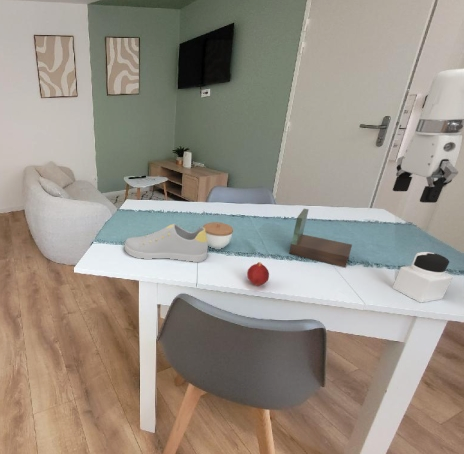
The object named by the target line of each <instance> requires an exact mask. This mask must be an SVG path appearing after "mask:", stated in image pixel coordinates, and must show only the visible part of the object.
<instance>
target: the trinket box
mask: <svg viewBox="0 0 464 454" xmlns="http://www.w3.org/2000/svg"><path fill="white" fill-rule="evenodd" d="M202 227H203V228H205V232H206V237H207V241H208V246H209V247H208V248H210V247H211V248H210V249H212V248H215V249H214V250H222V249H221V248H223V249H224V248H225V247H226V246H228V245H229V244H230V243H231V240H232V238H233V232H234V227H233V226H231V225H230V224H227V223H224V222H218V221H217V222H216V221H212V222H206V223H204V224H203V226H202Z"/></svg>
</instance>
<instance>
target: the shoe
mask: <svg viewBox="0 0 464 454" xmlns="http://www.w3.org/2000/svg"><path fill="white" fill-rule="evenodd" d="M208 249H209V247H208V241H207V237H206V232H205V228H203V226H200V227H198V228H197V229H196V230H194V231H188V230H186V229H184V228H182V227H181V226H179V225H178V224H176V223H171V224H169V225H167V226H165V227H163V228H161V229H160V230H157V231H155V232H152V233H149V234H148V233H147V234H146V235H143V236H131V237H128V238H126V240H125V242H124V250H125V252H126V253H127V254H128V255H130V256H132V257H134V258H137V259H141V258H144V259H143V260H153V259H152V258H170V259H169V260H174V259H178V260H177V261H181V260H186V261H185V262H189V261H193V262H192V263H201V262H203V261H205V260H206V259H207V256H208V255H207V254H208Z"/></svg>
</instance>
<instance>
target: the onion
mask: <svg viewBox="0 0 464 454" xmlns="http://www.w3.org/2000/svg"><path fill="white" fill-rule="evenodd" d="M246 277H247V279H248V281H250V283H251V284H252V285H254V286H257V287H258V286H261V285H265V284H266V283H267V282H268V281H269V279H270V272H269V269H268V268H267V266H265V265H264V264H263V263H262V262H261V261H260V262H257V263H254V264H252V265H251V266H250V267H249V268H248V270H247V272H246Z"/></svg>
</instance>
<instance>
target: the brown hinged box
mask: <svg viewBox="0 0 464 454" xmlns="http://www.w3.org/2000/svg"><path fill="white" fill-rule="evenodd" d="M308 215H309V208H303V209H302V211H301V212H300V213H299V214H298V215H297V217H296V221H295V225H294V229H293V234H292V239H291V243H290V248H289V252H288V255H293V256H296V257H300V258H305V259H309V260H313V261H317V262H321V263H325V264H329V265H332V266H337V267H341V268H346V267H347V264H348V261H349V258H350V255H351V250H352V247H353V244H352V243H351V244H350V243H347V242H340V241H336V240H331V239H328V238H327V239H326V238H323V237H317V236H313V235H307V234H304V230H305V226H306V222H307V218H308Z"/></svg>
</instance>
